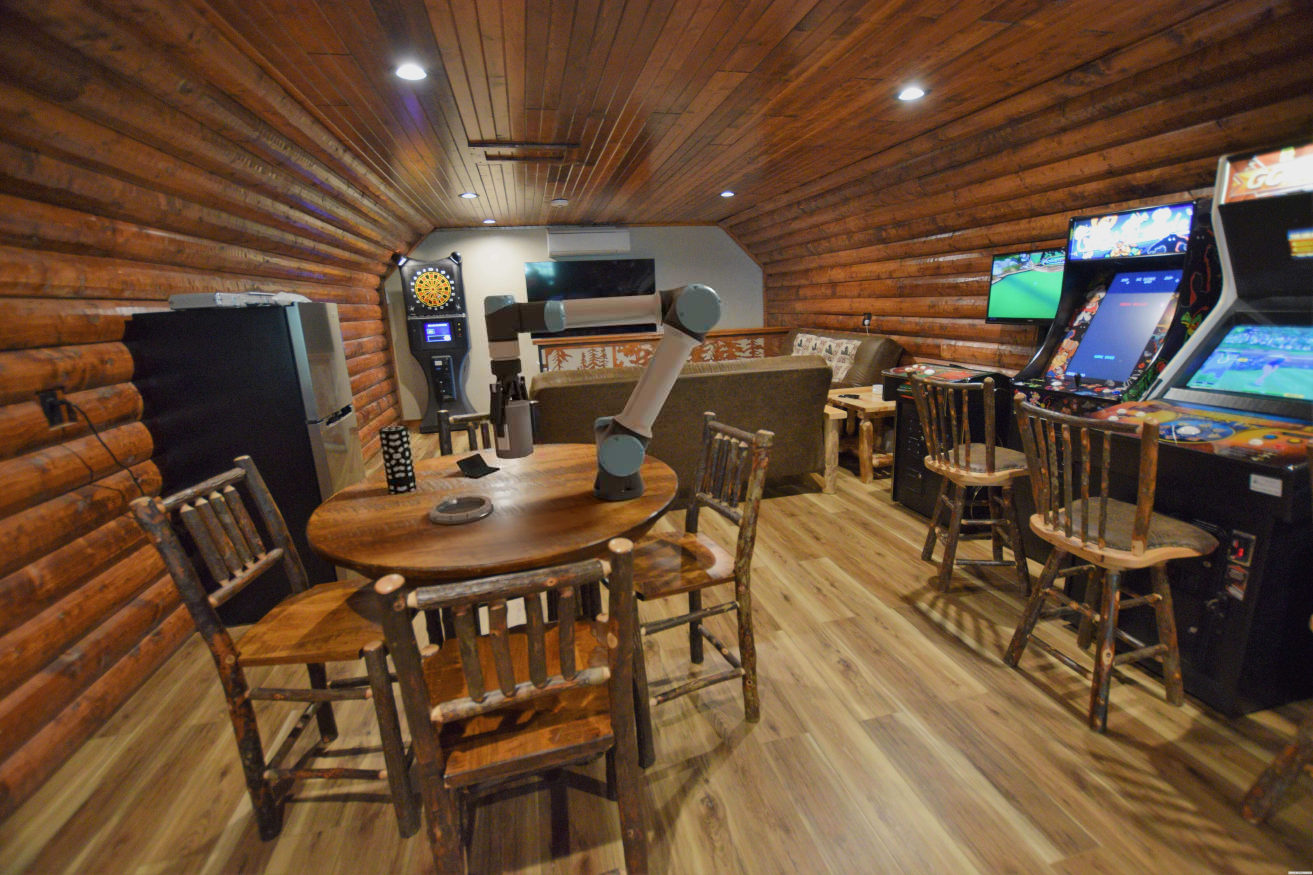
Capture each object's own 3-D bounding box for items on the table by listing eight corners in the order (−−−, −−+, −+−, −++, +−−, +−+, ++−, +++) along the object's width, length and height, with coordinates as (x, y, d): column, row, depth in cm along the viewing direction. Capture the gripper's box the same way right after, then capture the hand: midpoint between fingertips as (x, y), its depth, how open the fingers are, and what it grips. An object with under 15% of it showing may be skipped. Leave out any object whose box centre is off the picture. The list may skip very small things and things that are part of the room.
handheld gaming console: (483, 474, 191) (466, 450, 192) (469, 487, 193) (452, 462, 194) (502, 469, 202) (487, 446, 203) (489, 481, 204) (473, 458, 205)
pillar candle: (493, 452, 154) (486, 397, 150) (529, 447, 158) (524, 393, 154) (500, 461, 145) (493, 403, 141) (538, 455, 149) (532, 398, 145)
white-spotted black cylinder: (382, 492, 182) (372, 430, 177) (402, 484, 189) (393, 424, 184) (402, 495, 179) (392, 432, 174) (422, 486, 186) (413, 426, 181)
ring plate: (505, 504, 166) (504, 496, 166) (471, 527, 150) (470, 518, 150) (453, 501, 171) (452, 493, 170) (416, 523, 155) (414, 514, 154)
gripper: (514, 353, 157) (522, 433, 162) (466, 364, 136) (478, 455, 141) (539, 353, 155) (546, 434, 160) (495, 363, 134) (505, 456, 139)
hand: (514, 444), depth 151 cm, fingers closed on pillar candle, 10 cm apart
